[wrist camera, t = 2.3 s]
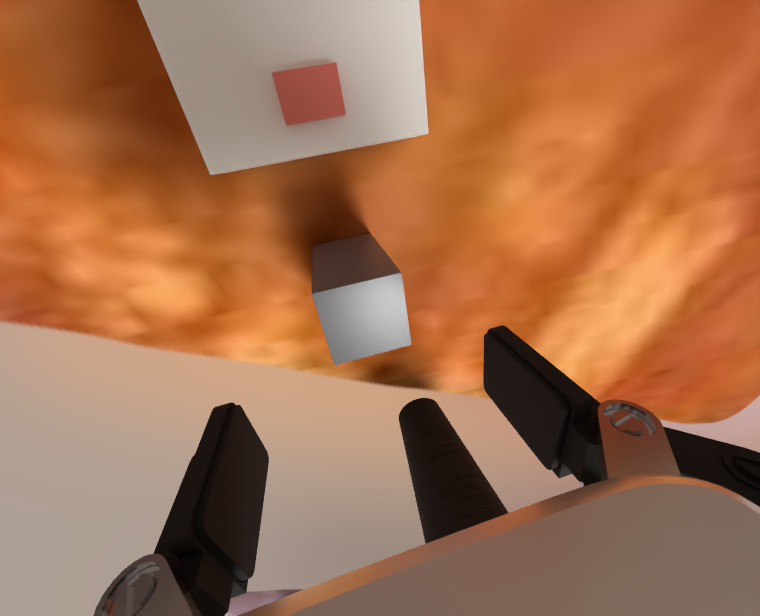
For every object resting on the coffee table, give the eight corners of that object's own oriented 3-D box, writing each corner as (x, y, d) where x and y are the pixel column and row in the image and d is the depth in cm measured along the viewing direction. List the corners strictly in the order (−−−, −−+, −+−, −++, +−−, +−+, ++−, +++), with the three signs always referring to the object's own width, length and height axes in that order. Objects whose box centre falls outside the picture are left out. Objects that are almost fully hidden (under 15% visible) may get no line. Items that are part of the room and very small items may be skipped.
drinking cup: (429, 376, 30) (589, 672, 13) (461, 411, 34) (618, 678, 16) (372, 416, 31) (448, 742, 14) (409, 445, 35) (506, 733, 17)
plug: (370, 232, 22) (401, 272, 14) (379, 285, 24) (411, 344, 16) (312, 245, 21) (311, 293, 14) (327, 297, 24) (334, 365, 16)
